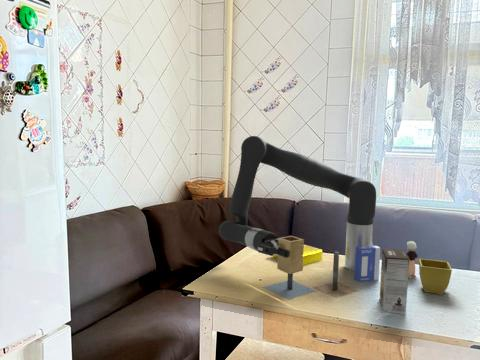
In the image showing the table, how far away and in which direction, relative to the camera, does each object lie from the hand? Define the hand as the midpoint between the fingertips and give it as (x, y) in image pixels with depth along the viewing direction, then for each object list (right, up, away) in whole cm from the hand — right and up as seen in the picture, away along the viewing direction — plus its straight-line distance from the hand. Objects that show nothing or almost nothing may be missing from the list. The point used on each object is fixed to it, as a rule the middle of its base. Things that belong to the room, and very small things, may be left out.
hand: (295, 252), depth 129 cm
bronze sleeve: (-1, -6, +2) cm, 6 cm away
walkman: (+26, -12, +13) cm, 31 cm away
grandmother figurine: (+42, -12, +18) cm, 47 cm away
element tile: (+6, -9, +37) cm, 39 cm away
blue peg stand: (-1, -12, +3) cm, 13 cm away
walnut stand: (+13, -13, +4) cm, 19 cm away
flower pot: (+45, -13, +5) cm, 47 cm away
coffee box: (+27, -14, -8) cm, 32 cm away
